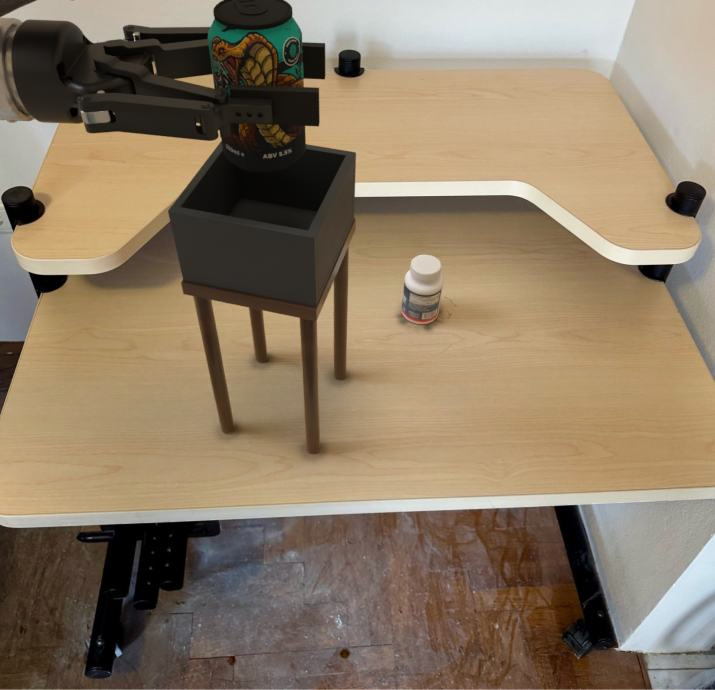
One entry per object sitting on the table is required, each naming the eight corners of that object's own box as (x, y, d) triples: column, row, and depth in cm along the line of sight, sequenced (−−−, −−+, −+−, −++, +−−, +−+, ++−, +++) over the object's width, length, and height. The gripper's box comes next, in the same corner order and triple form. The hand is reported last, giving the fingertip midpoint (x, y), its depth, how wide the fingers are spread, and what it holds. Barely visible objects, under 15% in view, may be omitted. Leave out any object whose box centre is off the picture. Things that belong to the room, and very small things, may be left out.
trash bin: (316, 307, 60) (314, 237, 54) (182, 280, 62) (167, 210, 56) (354, 219, 69) (356, 152, 63) (236, 198, 70) (228, 131, 65)
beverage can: (236, 184, 54) (217, 34, 46) (215, 141, 59) (194, -3, 50) (317, 168, 56) (314, 21, 48) (291, 128, 61) (284, -14, 52)
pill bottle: (406, 295, 96) (411, 247, 90) (441, 303, 95) (449, 255, 89) (397, 320, 93) (402, 272, 86) (434, 329, 92) (441, 280, 85)
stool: (320, 459, 77) (316, 309, 59) (214, 434, 79) (180, 282, 61) (351, 370, 86) (355, 218, 69) (256, 349, 88) (236, 196, 71)
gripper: (82, 62, 62) (329, 72, 62) (-2, 185, 49) (314, 197, 49) (58, -26, 57) (329, -15, 57) (-44, 85, 43) (312, 99, 43)
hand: (321, 83), depth 53 cm, fingers closed on beverage can, 7 cm apart
